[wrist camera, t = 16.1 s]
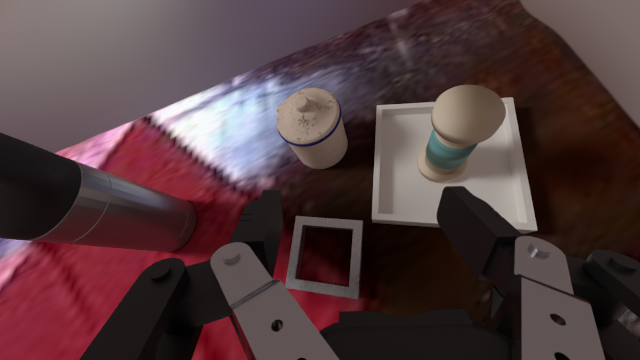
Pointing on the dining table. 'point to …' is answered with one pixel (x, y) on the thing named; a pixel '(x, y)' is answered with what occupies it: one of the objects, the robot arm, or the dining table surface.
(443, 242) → the dining table surface
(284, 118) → the teacup with lid
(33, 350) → the dining table surface
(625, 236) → the dining table surface
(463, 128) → the spool
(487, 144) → the tray
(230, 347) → the dining table surface
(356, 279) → the socket
